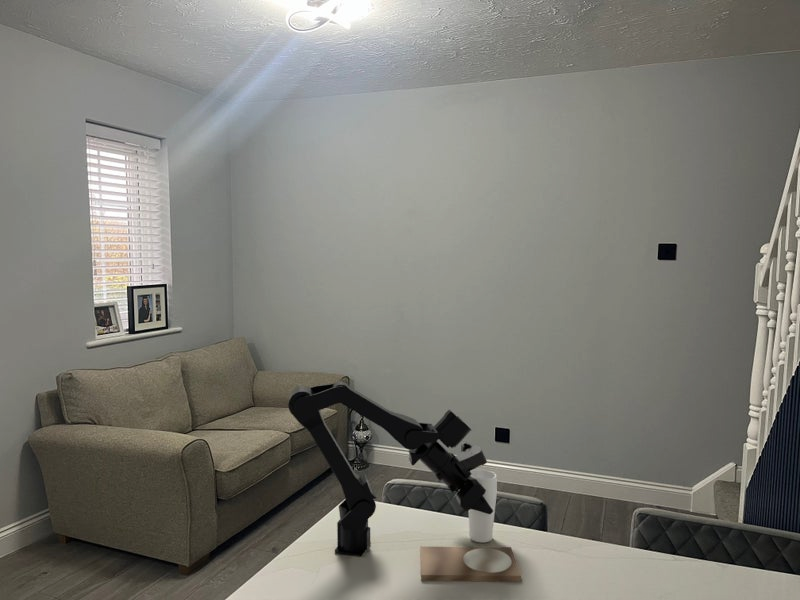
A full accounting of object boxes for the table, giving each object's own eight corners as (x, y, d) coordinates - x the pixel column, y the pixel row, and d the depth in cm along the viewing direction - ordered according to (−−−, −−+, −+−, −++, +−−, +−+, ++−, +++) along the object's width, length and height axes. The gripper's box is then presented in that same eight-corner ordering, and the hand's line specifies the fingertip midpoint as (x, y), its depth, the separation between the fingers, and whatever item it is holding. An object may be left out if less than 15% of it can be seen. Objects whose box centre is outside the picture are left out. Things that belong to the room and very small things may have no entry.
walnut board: (421, 580, 119) (421, 574, 119) (420, 551, 131) (420, 545, 131) (521, 581, 119) (521, 574, 119) (511, 552, 131) (511, 546, 131)
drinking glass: (495, 546, 133) (496, 480, 133) (464, 543, 135) (466, 478, 134) (496, 533, 140) (497, 470, 139) (467, 531, 141) (468, 468, 141)
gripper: (476, 448, 126) (525, 496, 129) (454, 424, 145) (498, 467, 147) (440, 487, 125) (490, 534, 128) (422, 458, 144) (467, 500, 146)
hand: (487, 506), depth 137 cm, fingers closed on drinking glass, 7 cm apart
